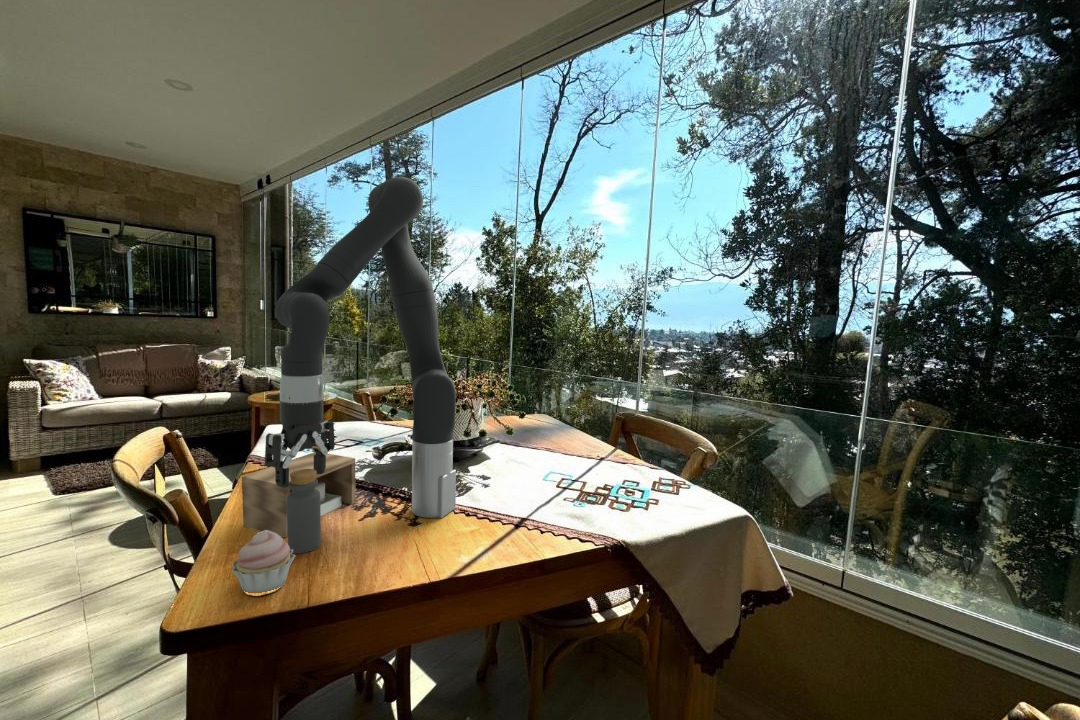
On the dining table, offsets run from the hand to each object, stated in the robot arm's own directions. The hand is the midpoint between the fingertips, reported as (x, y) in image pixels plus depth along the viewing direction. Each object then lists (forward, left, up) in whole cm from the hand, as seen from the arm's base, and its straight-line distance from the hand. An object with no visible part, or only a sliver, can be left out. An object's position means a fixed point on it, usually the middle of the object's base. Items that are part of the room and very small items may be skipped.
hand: (301, 479), depth 94 cm
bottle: (0, 0, -14) cm, 14 cm away
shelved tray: (+11, -11, -14) cm, 21 cm away
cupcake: (-5, +13, -14) cm, 20 cm away
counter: (+12, -11, -14) cm, 21 cm away
